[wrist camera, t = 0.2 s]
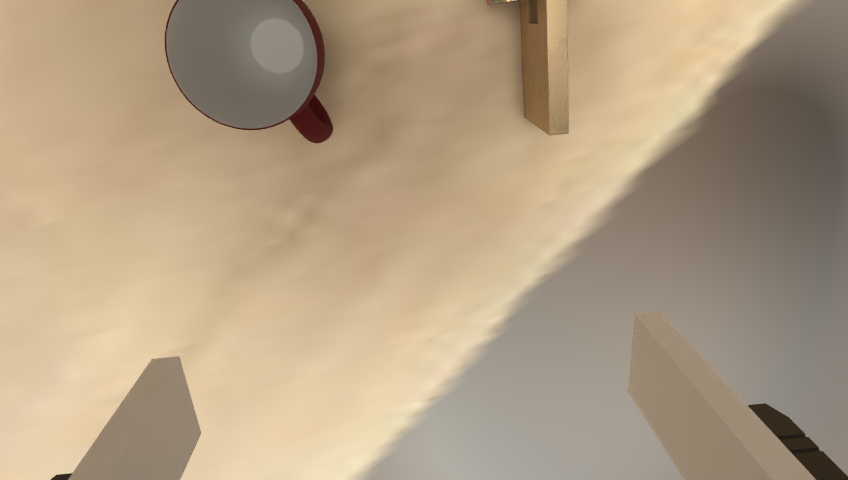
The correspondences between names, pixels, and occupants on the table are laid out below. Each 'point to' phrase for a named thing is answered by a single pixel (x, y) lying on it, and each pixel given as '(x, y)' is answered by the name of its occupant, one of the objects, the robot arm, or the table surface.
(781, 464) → the robot arm
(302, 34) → the mug
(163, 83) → the table surface
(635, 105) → the table surface
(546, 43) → the square hinge knuckle
